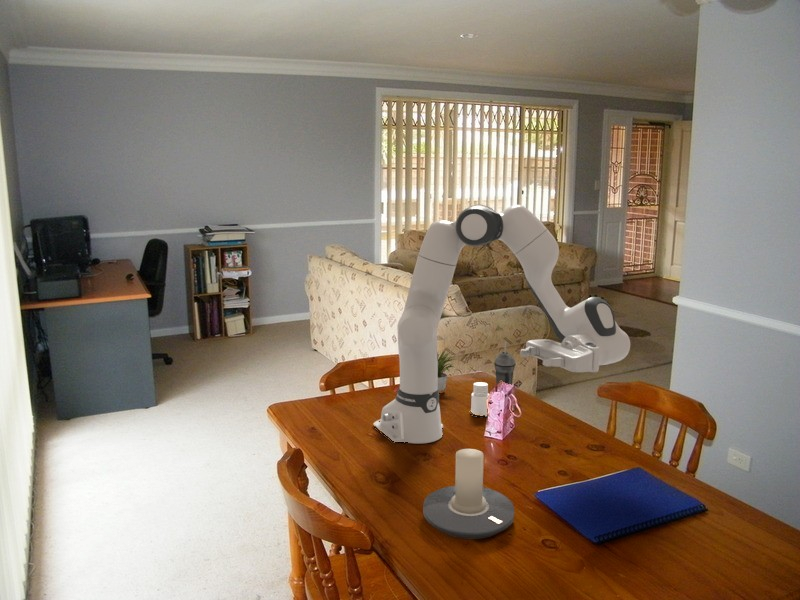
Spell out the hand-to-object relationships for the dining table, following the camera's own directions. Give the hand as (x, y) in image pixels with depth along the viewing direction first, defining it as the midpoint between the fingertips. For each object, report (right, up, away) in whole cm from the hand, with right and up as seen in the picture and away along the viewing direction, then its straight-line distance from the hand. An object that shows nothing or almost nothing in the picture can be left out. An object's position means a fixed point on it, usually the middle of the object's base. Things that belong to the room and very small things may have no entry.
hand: (532, 358), depth 163 cm
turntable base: (-18, -34, -19) cm, 43 cm away
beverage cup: (+3, -19, +63) cm, 66 cm away
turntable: (-18, -32, -20) cm, 42 cm away
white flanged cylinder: (-18, -31, -20) cm, 41 cm away
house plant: (-20, -18, +66) cm, 72 cm away
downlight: (-8, -22, +46) cm, 52 cm away
